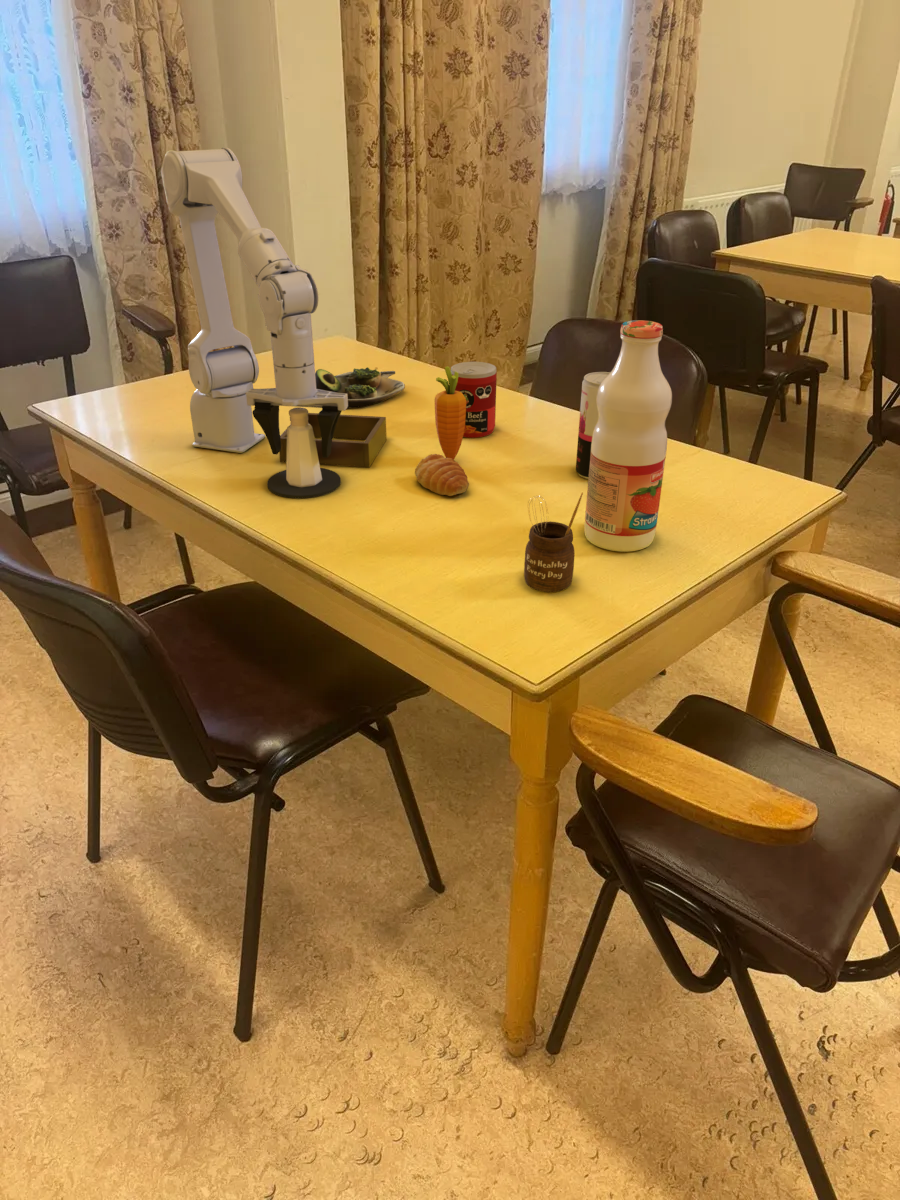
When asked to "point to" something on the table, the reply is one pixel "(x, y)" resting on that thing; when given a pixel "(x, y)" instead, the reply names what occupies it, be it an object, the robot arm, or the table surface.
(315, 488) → the mat
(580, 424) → the beverage can
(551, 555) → the utensil holder
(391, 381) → the salad plate
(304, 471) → the salt shaker
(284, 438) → the rectangular frame
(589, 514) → the fruit juice
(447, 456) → the carrot
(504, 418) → the table surface
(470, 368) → the canned food
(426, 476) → the pastry
